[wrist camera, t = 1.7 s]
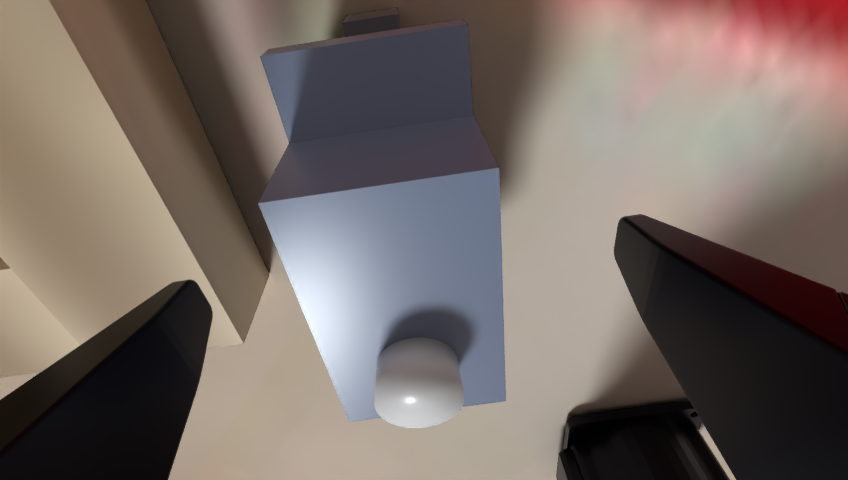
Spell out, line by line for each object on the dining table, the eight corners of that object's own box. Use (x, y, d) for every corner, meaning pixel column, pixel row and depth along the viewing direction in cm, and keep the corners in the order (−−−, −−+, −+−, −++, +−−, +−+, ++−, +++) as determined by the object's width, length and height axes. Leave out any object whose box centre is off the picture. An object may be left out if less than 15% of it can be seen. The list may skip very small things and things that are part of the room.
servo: (443, 0, 10) (511, 67, 4) (468, 274, 15) (514, 473, 9) (301, 22, 10) (185, 118, 4) (373, 288, 15) (361, 493, 9)
